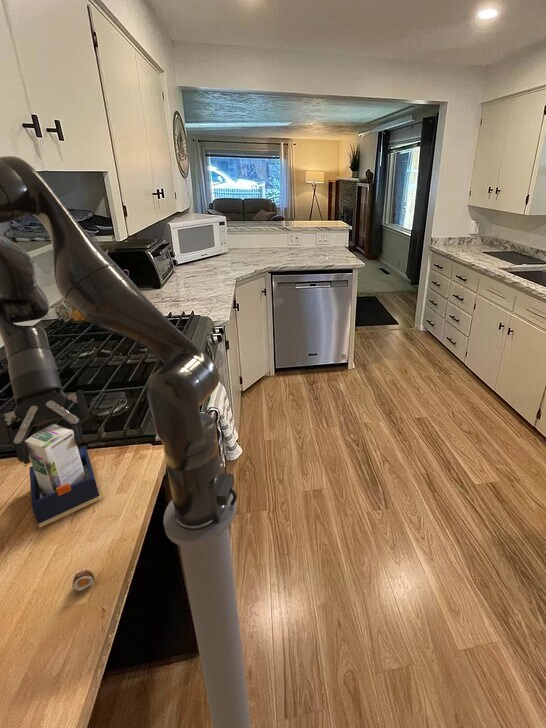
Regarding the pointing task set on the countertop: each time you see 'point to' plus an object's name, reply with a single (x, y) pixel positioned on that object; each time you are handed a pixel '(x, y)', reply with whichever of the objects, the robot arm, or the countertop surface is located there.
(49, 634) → the countertop surface
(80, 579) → the chocolate
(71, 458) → the syrup box
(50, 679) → the countertop surface
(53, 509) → the navy blue pull-out drawer
